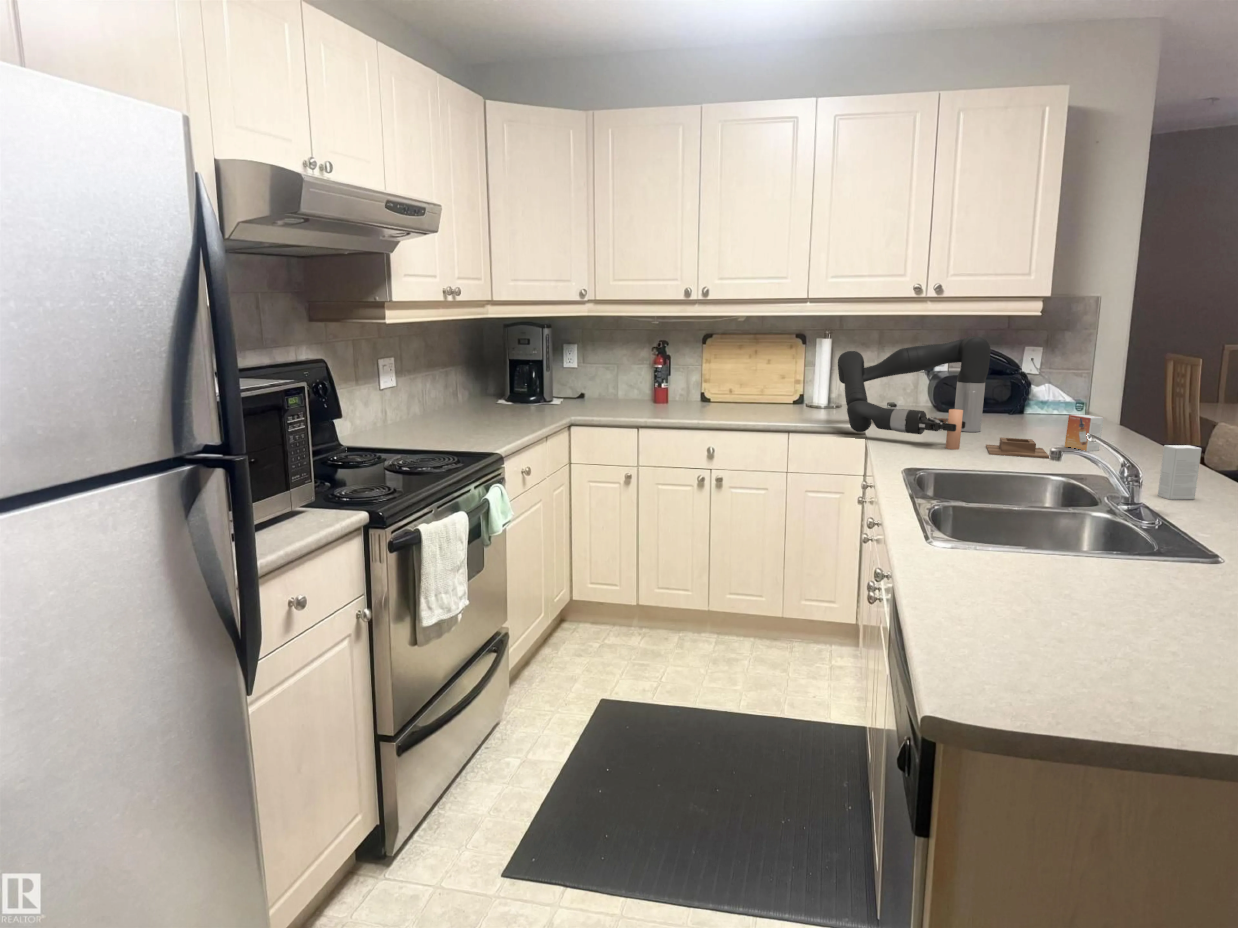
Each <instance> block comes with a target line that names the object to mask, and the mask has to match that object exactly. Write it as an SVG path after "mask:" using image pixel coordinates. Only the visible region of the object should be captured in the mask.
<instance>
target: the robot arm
mask: <svg viewBox="0 0 1238 928" xmlns="http://www.w3.org/2000/svg"><path fill="white" fill-rule="evenodd" d="M991 351H992V350H991V344H990V343H989V341H988V340H987V339H986V338H983V337H981V336H969V337H965V338H962V339H961V338H960V339H958V340H953V341H950V342H946V343H937V344H922V345H921V344H920V345H915V346H909V347H902V348H899V349H897V350H895V351H894V352H893V353H891V354H890V355H889V356H887V357H885V359H883V360H882V361H880V362H878V363H876V364H873V365H869V366H865V360H864V357H863V354H861V352H859V351H857V350H847V351H844V352H842V353H841V354H840V355H839V356H838V359H837V371H838V373H837V374H838V379H839V382H840V383H841V384H844V396H845V402H846V404H845V405H846V412H847V413H846V414H847V418H848V422H849V426H850V428H851V429H852V430H853V431H854V432H857V433H864V432H866V431H867V430H869V428H870V427H871V426H872V423H873V425H874V426H875V427H876V428H877V429H879V430H885V431H894V432H898V433H904V434H913V435H922V434H924V432H925V431H930V432H931V431H932V432H943V431H946V432H947V431H956V426H957V425H956V424H949V423H948V417H947V418H945V417H937V416H930V417H927V413H926V411H925V410H919V409H917V410H916V409H908V408H907V409H905V408H889V407H882V406H879V405H877V404H875V403H872V402H869V400H868V396H867V391H866V386H865V383H866V382H870V381H874V380H878V379H882V378H888V377H893V376H898V375H906V374H907V375H908V374H912V373H917V372H918V373H920V372H923V371H927V370H931V369H934V368H936V367H940V366H942V365H947V364H954V363H955V364H956V363H960V364H961V365H960V370H959V372H958V375H957V379H956V381H957V382H956V390H955V401H954V409H959V410H963V417H962V427H961V432H968V433H978V432H981V430H982V420H983V410H984V403H985V402H984V399H985V389H986V380H987V377H988V374H989V370H990V369H989V368H990V363H991V362H990V360H991V353H992V352H991Z"/></svg>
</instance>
